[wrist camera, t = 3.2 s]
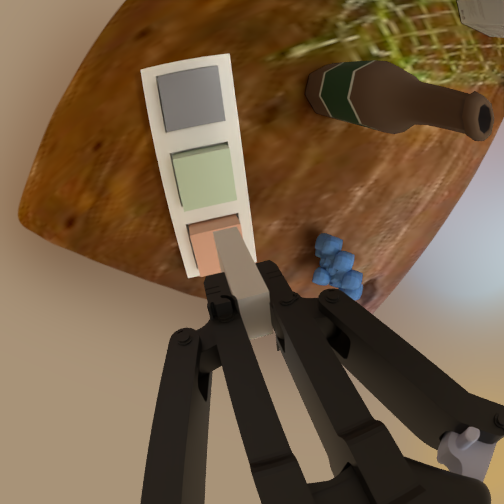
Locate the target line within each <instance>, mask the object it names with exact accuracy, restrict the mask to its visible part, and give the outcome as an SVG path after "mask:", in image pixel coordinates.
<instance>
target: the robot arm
mask: <svg viewBox="0 0 504 504" xmlns="http://www.w3.org/2000/svg"><path fill="white" fill-rule="evenodd" d="M213 235H214V240H215V245H216V250H217V255H218V259H219V264H220V268H221V272H222V273H218V274H213V275H209V276H206V278H205V281H204V287H205V291H206V296H207V301H208V304H207V308H208V311H209V315H210V320H209V321H208V323H207V324H206V325H205V326H203V327H202V328H200V329H198V330H194V329H192V328H183V329H180V330H178V331H176V332H175V333H174V334H173V335H172V336H171V338H170V341H169V345H168V350H167V354H166V359H165V363H164V368H163V373H162V377H161V382H160V387H159V392H158V397H157V402H156V408H155V413H154V419H153V424H152V429H151V435H150V442H149V447H148V454H147V460H146V467H145V474H144V481H143V489H142V497H141V504H204V500H205V477H206V459H207V440H208V424H209V411H210V397H211V384H212V371H213V370H215V369H216V368H218V367H220V366H222V367H223V371H224V375H225V379H226V383H227V386H228V390H229V394H230V398H231V401H232V405H233V409H234V412H235V416H236V420H237V423H238V427H239V430H240V434H241V437H242V440H243V444H244V447H245V450H246V454H247V457H248V460H249V463H250V468H251V472H252V476H253V479H254V482H255V485H256V488H257V491H258V494H259V497H260V500H261V503H262V504H491V496H490V492H489V489H488V488H487V486H486V485H485V484H484V483H483V480H484V478H485V475H486V472H487V470H488V467H489V464H490V461H491V458H492V455H493V452H494V448H495V446H496V443H497V442H498V441H499V440H500V439H501V438H503V437H504V406H503V405H500V404H497V403H495V402H492V401H489V400H487V399H484V398H481V397H478V396H476V395H473V394H470V393H468V392H467V391H466V390H465V389H464V388H462V387H461V386H460V385H459V384H458V383H456V382H455V381H454V380H453V379H451V378H450V377H449V376H448V375H447V374H446V373H444V372H443V371H442V370H441V369H439V368H438V367H437V366H436V365H435V364H433V363H432V362H431V361H430V360H428V359H427V358H426V357H425V356H424V355H422V354H421V353H420V352H419V351H418V350H416V349H415V348H414V347H413V346H411V345H410V344H409V343H408V342H406V341H405V340H404V339H403V338H401V337H400V336H399V335H398V334H396V333H395V332H394V331H393V330H391V329H390V328H389V327H387V326H386V325H385V324H384V323H382V322H381V321H380V320H379V319H377V318H376V317H375V316H374V315H372V314H371V313H370V312H369V311H367V310H366V309H365V308H363V307H362V306H361V305H360V304H358V303H357V302H356V301H354V300H353V299H352V298H351V297H349V296H348V295H347V294H345V293H344V292H343V291H341V290H339V289H326V290H324V291H322V292H321V293H320V295H319V298H302V297H301V296H300V295H299V294H298V293H295V292H293V291H292V290H291V288H290V286H289V285H288V283H287V281H286V280H285V278H284V276H283V275H282V273H281V271H280V270H279V268H278V266H277V265H276V264H275V263H273V262H272V261H270V260H268V261H264V262H260V263H256V264H255V262H254V260H253V258H252V256H251V254H250V252H249V250H248V248H247V246H246V244H245V242H244V240H243V238H242V236H241V234H240V232H239V230H238V228H237V226H236V227H232V228H227V229H223V230H219V231H214V232H213ZM273 329H274V331H275V333H276V343H277V351H279V350H281V353H282V355H283V357H284V359H285V361H286V364H287V366H288V368H289V371H290V373H291V375H292V377H293V380H294V382H295V384H296V386H297V389H298V390H299V393H300V395H301V398H302V400H303V402H304V404H305V406H306V409H307V411H308V413H309V415H310V417H311V420H312V422H313V424H314V426H315V429H316V431H317V433H318V435H319V437H320V440H321V442H322V444H323V446H324V448H325V451H326V453H327V455H328V458H329V462H330V467H331V470H332V472H333V475H334V478H333V479H331V480H329V481H324V482H317V483H309V484H307V483H306V480H305V478H304V476H303V473H302V471H301V468H300V466H299V464H298V461H297V459H296V457H295V456H294V454H293V453H292V451H291V449H290V446H289V444H288V441H287V439H286V436H285V434H284V431H283V429H282V426H281V423H280V421H279V418H278V416H277V413H276V410H275V408H274V405H273V402H272V400H271V397H270V394H269V392H268V389H267V386H266V384H265V381H264V378H263V376H262V373H261V370H260V368H259V365H258V362H257V359H256V356H255V354H254V351H253V348H252V345H251V343H250V340H251V339H255V338H259V337H262V336H266V335H269V334H272V333H273ZM279 348H280V349H279ZM342 365H343V366H344V367H345V368H346V369H347V370H348V371H349V372H350V373H352V374H353V375H354V376H355V377H356V378H357V379H358V380H359V381H360V382H361V383H362V384H363V385H364V386H365V387H366V388H367V389H368V390H369V391H370V392H371V393H372V394H373V395H374V396H375V397H376V398H377V399H378V400H379V401H380V402H381V403H382V404H383V405H384V406H385V407H386V408H387V409H388V410H390V411H391V412H392V413H393V414H394V415H395V416H396V417H397V418H398V419H399V420H400V421H401V422H402V423H403V424H404V425H405V426H406V427H407V428H408V429H409V430H410V431H412V432H413V433H414V434H415V435H416V436H417V437H418V438H419V439H420V440H422V441H423V442H424V443H426V444H427V445H429V446H430V447H432V448H434V449H436V450H438V455H437V461H438V462H439V463H441V464H444V465H445V466H447V468H448V469H449V471H450V472H449V471H446V470H442V469H439V468H436V467H433V466H430V465H427V464H424V463H421V462H418V461H415V460H412V459H410V458H407V457H403V455H402V453H401V451H400V450H399V448H398V446H397V445H396V443H395V441H394V439H393V438H392V436H391V434H390V433H389V431H388V429H387V428H386V426H385V425H384V424H383V423H382V422H381V421H378V420H375V419H374V418H373V417H372V416H371V414H370V412H369V410H368V408H367V407H366V405H365V403H364V402H363V400H362V398H361V397H360V395H359V393H358V392H357V390H356V388H355V386H354V385H353V383H352V381H351V380H350V378H349V377H348V375H347V373H346V371H345V369H344V368H343V366H342Z"/></svg>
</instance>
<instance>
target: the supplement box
mask: <svg viewBox="0 0 504 504" xmlns="http://www.w3.org/2000/svg"><path fill="white" fill-rule="evenodd" d="M457 3H458V8H459V12H460V17H461V22H462V23H463V24H465V25H467V26H469V27H471V28H473V29H476V30H478V31H480V32H482V33H484V34H486V35H488V36H490V37H502V38H504V0H457Z"/></svg>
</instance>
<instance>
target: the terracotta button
mask: <svg viewBox="0 0 504 504" xmlns="http://www.w3.org/2000/svg"><path fill="white" fill-rule="evenodd" d="M188 225H189V233H190V238H191V242H192V246H193V250H194V254H195V258H196V261H197V265H198V269H199V273H200V277H203V276H207V275H212V274H216V273H220V272H221V268H220V264H219V259H218V255H217V250H216V245H215V240H214V235H213V232H214V231H219V230H223V229H227V228H232V227H236V226H237V228H238V230H239V232H240V234H241V236H242V229H241V224H240V222H239V220H238V218H237V216H236V214H232V215H228V216H223V217H219V218H214V219H210V220H206V221H201V222H197V223H193V224H188ZM242 238H243V236H242Z"/></svg>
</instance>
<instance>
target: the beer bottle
mask: <svg viewBox="0 0 504 504" xmlns="http://www.w3.org/2000/svg"><path fill="white" fill-rule="evenodd" d="M305 95H306V97H307V99H308V100H309V102H310V104H311V105H312V107H313V109H314V111H315V112H316V113H317V114H321V115H324V116H327V117H331V118H334V119H338V120H341V121H345V122H349V123H353V124H357V125H360V126H364V127H368V128H371V129H375V130H378V131H382V132H386V133H391V134H397V133H401V132H405V131H406V130H407V129H409V128H410V127H412V126H413V125H430V126H435V127H439V128H444V129H448V130H452V131H457V132H461V133H464V134H466V135H467V136H469V137H470V138H472V139H473V140H474V141H484V140H485V139H487V138H488V137H489V136H490V135H491V133H492V128H493V123H494V114H493V109H492V104H491V103H490V102H489V101H488V100H487V99H486V98H485V97H484V96H483V95H481V94H479V93H477V92H476V91H474V92H473V93H471V94H468V93H464V92H461V91H457V90H453V89H449V88H445V87H441V86H437V85H432V84H428V83H423V82H421V81H419V80H418V79H417V78H416V77H415V76H413V75H412V74H410V73H408V72H407V71H405V70H403V69H401V68H399V67H398V66H396V65H394V64H391V63H389V62H387V61H376V60H375V61H356V62H343V63H333V64H328V65H325V66H324V67H322V68H320V69H318V70H316V71H314V72H313V73H311V74H309V79H308V83H307V88H306V93H305Z"/></svg>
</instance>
